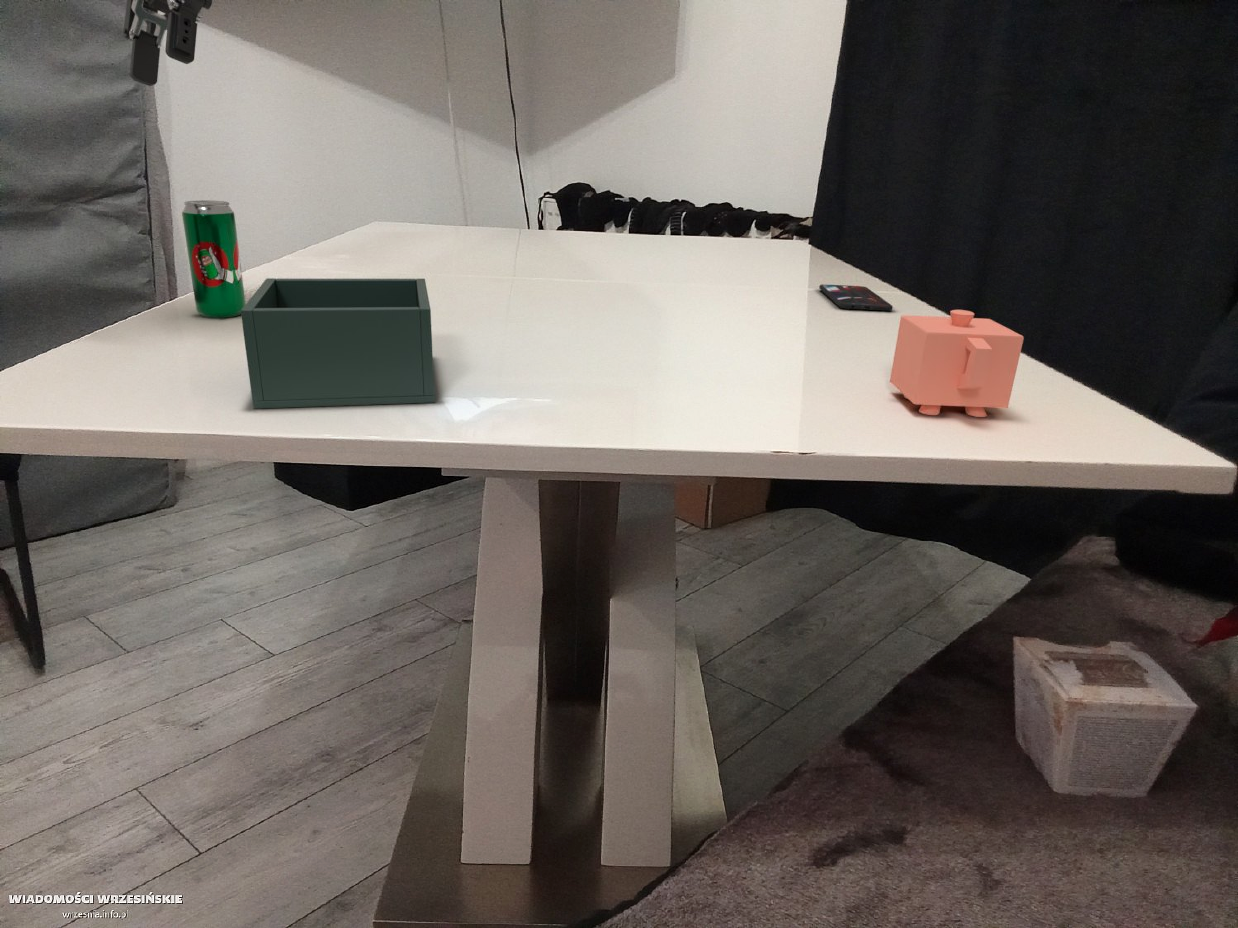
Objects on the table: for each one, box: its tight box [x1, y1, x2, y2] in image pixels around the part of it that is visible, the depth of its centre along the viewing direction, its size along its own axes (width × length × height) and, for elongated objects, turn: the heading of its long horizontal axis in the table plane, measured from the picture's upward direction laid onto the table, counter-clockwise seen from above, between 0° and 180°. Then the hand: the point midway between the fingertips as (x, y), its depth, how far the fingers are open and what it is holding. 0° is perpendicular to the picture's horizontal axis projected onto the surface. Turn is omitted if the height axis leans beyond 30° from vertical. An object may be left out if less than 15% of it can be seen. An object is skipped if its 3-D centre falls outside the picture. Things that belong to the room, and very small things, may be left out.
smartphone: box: [818, 283, 894, 312], centre depth 117 cm, size 7×1×15 cm
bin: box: [240, 277, 436, 410], centre depth 70 cm, size 14×14×8 cm
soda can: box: [181, 199, 247, 319], centre depth 90 cm, size 5×5×12 cm
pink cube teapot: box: [889, 309, 1025, 418], centre depth 71 cm, size 8×12×8 cm, turn 0°
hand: (160, 71), depth 77 cm, fingers open, 8 cm apart
